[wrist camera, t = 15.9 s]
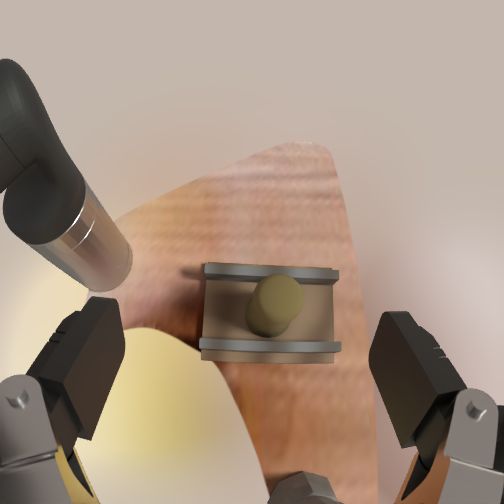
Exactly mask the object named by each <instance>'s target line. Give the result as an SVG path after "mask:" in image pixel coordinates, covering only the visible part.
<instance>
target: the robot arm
mask: <svg viewBox="0 0 504 504" xmlns="http://www.w3.org/2000/svg"><path fill="white" fill-rule="evenodd" d="M6 188H7V189H6ZM5 189H6V192H5V196H4V201H3V215H4V219H5V222H6V224H7V226H8V227H9V229H10V230H11V231H12V232H13V233H14V234H15V235H16V236H17V237H19V238H20V239H21V240H22V241H24V242H25V243H26V244H28V245H29V246H30V247H31V248H33V249H34V250H35V251H37V252H38V253H39V254H41V255H42V256H43V257H44V258H46V259H47V260H48V261H50V262H51V263H52V264H54V265H55V266H56V267H58V268H59V269H61V270H62V271H64V272H65V273H66V274H68V275H69V276H71V277H72V278H73V279H75V280H76V281H78V282H79V283H81V284H82V285H84V286H85V287H87V288H88V289H90V290H93V291H97V292H104V291H109V290H112V289H114V288H115V287H117V286H119V285H120V284H121V283H122V282H123V281H124V280H125V278H126V277H127V275H128V273H129V271H130V269H131V265H132V251H131V248H130V245H129V244H128V242H127V241H126V239H125V238H124V236H123V235H122V234H121V232H120V231H119V229H118V228H117V226H116V225H115V223H114V222H113V221H112V219H111V218H110V216H109V215H108V213H107V212H106V211H105V209H104V207H103V206H102V205H101V203H100V202H99V200H98V199H97V197H96V196H95V194H94V193H93V191H92V190H91V188H90V187H89V185H88V184H87V182H86V181H85V179H84V177H83V176H82V174H81V173H80V171H79V170H78V168H77V167H76V165H75V164H74V162H73V161H72V160H71V158H70V156H69V155H68V153H67V152H66V150H65V148H64V146H63V145H62V143H61V141H60V139H59V137H58V135H57V133H56V131H55V129H54V127H53V124H52V122H51V120H50V118H49V116H48V114H47V111H46V109H45V107H44V105H43V103H42V100H41V98H40V97H39V94H38V92H37V90H36V88H35V86H34V85H33V83H32V81H31V80H30V78H29V76H28V75H27V74H26V72H25V71H24V70H23V69H22V67H21V66H20V65H19V64H17V63H16V62H14V61H13V60H10V59H2V60H0V193H2V192H3V191H4V190H5ZM124 354H125V338H124V333H123V327H122V322H121V317H120V311H119V305H118V302H117V300H116V299H113V298H104V297H94V296H93V297H91V298H90V299H89V300H88V302H87V303H86V304H85V306H84V307H83V309H82V310H81V311H75V312H73V313H72V314H71V315H69V316H68V317H66V318H65V319H64V320H63V321H62V322H61V324H60V325H59V326H58V328H57V329H56V332H55V333H53V335H52V336H51V337H50V339H49V342H47V343H46V345H45V346H44V348H43V349H42V350H41V352H40V353H39V355H38V356H37V358H36V359H35V361H34V362H33V364H32V365H31V367H30V368H29V370H28V371H27V373H26V374H25V375H14V376H11V377H9V378H7V379H5V380H3V381H2V382H1V383H0V504H100V502H99V500H98V498H97V497H96V495H95V492H94V490H93V488H92V486H91V484H90V482H89V480H88V477H87V475H86V473H85V471H84V468H83V466H82V464H81V461H80V459H79V456H78V454H77V451H76V449H75V448H74V445H75V442H76V440H77V437H79V438H83V439H87V440H90V441H91V440H92V437H93V434H94V431H95V429H96V426H97V423H98V421H99V418H100V415H101V413H102V410H103V408H104V405H105V402H106V400H107V397H108V395H109V392H110V390H111V387H112V385H113V382H114V380H115V377H116V375H117V372H118V370H119V368H120V365H121V363H122V360H123V358H124ZM369 367H370V370H371V372H372V375H373V377H374V380H375V382H376V384H377V387H378V389H379V392H380V394H381V397H382V399H383V402H384V404H385V407H386V409H387V412H388V414H389V417H390V419H391V422H392V424H393V427H394V430H395V432H396V435H397V437H398V440H399V443H400V445H401V448H407V447H412V446H416V447H417V449H418V452H417V453H416V454H415V456H414V458H413V460H412V463H411V465H410V468H409V471H408V473H407V476H406V478H405V480H404V483H403V485H402V487H401V490H400V492H399V494H398V496H397V498H396V501H395V503H394V504H504V406H501V405H496V403H495V402H494V400H493V399H492V398H491V397H490V396H489V395H488V394H487V393H485V392H483V391H481V390H478V389H471V388H470V389H468V388H467V387H466V385H465V383H464V382H463V380H462V379H461V377H460V376H459V374H458V373H457V371H456V369H455V368H454V366H453V365H452V363H451V362H450V360H449V359H448V358H446V355H445V353H444V351H443V350H442V349H440V346H439V344H438V343H437V342H436V340H435V338H434V337H433V336H432V335H431V334H430V333H428V332H427V331H426V330H425V329H423V328H422V327H421V326H418V325H417V323H416V322H415V321H414V319H413V318H412V316H411V315H410V314H409V312H407V311H389V312H384V313H383V314H382V316H381V318H380V321H379V325H378V327H377V330H376V333H375V336H374V339H373V342H372V345H371V348H370V351H369Z"/></svg>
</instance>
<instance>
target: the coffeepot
mask: <svg viewBox="0 0 504 504" xmlns="http://www.w3.org/2000/svg"><path fill="white" fill-rule="evenodd" d="M267 503H268V504H343V503H341V502H338V501H337V498H336V496H335V494H334V492H333V489H332V487H331V485H330V483H329V481H328V478H327V477H323V476H319V475H316V474H311V473H307V472H301V473H298V474H296V475H293V476H290V477H288V478H286V479H284V480H282V481H279V482H278V483H277V485H276V487H275V489H274V490H273V492H272V494H271V497H270V499H269V501H268V502H267Z"/></svg>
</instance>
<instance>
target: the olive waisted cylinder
mask: <svg viewBox="0 0 504 504" xmlns="http://www.w3.org/2000/svg"><path fill="white" fill-rule="evenodd" d="M303 302H304V295H303V291H302V288H301V287H300V285H299V283H298V282H297V281H296V280H295V279H293V278H292V277H290V276H288V275H286V274H279V273H278V274H272V275H269V276H267V277H265V278H263V279H262V280H261V281H260V282H259V283H258V284H257V286H256V288H255V290H254V292H253V299H252V300H251V301H250V302H249V303H248V305H247V307H246V311H245V319H246V323H247V325H248V327H249V329H250V330H251V331H252V332H253V333H254V334H256V335H258V336H260V337H263V338H273V337H277V336H279V335H281V334H283V333H284V332H285V331H286V330H287V329H288V327H289V325H290V322H291V321H292V320H294V319H295V318H296V317H297V316H298V315H299V313H300V312H301V310H302V307H303Z"/></svg>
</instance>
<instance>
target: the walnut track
mask: <svg viewBox="0 0 504 504" xmlns="http://www.w3.org/2000/svg"><path fill="white" fill-rule="evenodd" d="M278 273H279V274H286V275H288V276H290V277H292V278H293V279H295V280H296V281H297V282H298V283H299V285H300V287H301V288H302V291H303V295H304V302H303V307H302V310H301V312H300V313H299V315H298V316H297V317H296V318H295V319H294V320H292V321H291V322H290V325H289V327H288V329H287V330H286V331H285V332H284V333H283V334H281V335H279V336H277V337H273V338H263V337H260V336H258V335H256V334H254V333H253V332H252V331H251V330H250V329H249V327H248V325H247V323H246V319H245V311H246V307H247V305H248V303H249V302H250V301H251V300H252V299H253V292H254V290H255V288H256V286H257V284H258V283H259V282H260V281H261V280H262V279H263V278H265V277H267V276H269V275H272V274H278ZM204 274H205V277H206V289H205V303H204V317H203V333H202V338H200V341H199V348H200V349H201V360H208V361H222V362H243V363H281V364H310V363H334V353H336V352H340V351H341V342H334V316H333V285H334V284H335V283H336V282H337V281H338V280H339V270H332V268H318V267H295V266H274V265H254V264H234V263H215V262H208V264H205V271H204Z"/></svg>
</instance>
